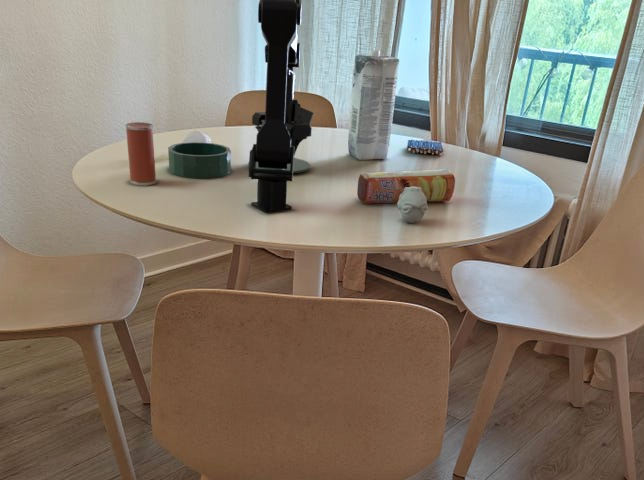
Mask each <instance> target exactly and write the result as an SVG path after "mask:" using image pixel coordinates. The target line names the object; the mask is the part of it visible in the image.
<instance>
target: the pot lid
mask: <svg viewBox="0 0 644 480" xmlns="http://www.w3.org/2000/svg"><path fill="white" fill-rule="evenodd" d="M256 169H272V168H259V167H258V162H256ZM310 169H311V164H310V162H308V161H307V160H304V159H302V158H301V159H300V158H297V157H294V163H293V174H298V173H299V174H300V173H303V172H307V171H309V170H310ZM272 170H289V171H290V164H288V167H287V169H272Z"/></svg>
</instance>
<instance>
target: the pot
mask: <svg viewBox="0 0 644 480" xmlns="http://www.w3.org/2000/svg"><path fill="white" fill-rule="evenodd" d="M167 153H168V171H169V173H170V174H172V175H174V176H177V177H181V178H186V179H198V180H199V179H200V180H201V179H202V180H206V179H217V178H222V177H225V176H228V175H229V174H230V173H231V171H232V150H231V149H230V147H229V146H226V145H223V144H219V143H213V142H211V143H204V142H189V143H182V142H179V143H175V144H171V145H170V146H167Z"/></svg>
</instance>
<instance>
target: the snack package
mask: <svg viewBox="0 0 644 480" xmlns="http://www.w3.org/2000/svg"><path fill="white" fill-rule="evenodd" d="M411 186H413V187H414V186H415V187H420V188H421V189H422V192H423V193H424V196H425V197H426V202H449V201H450V200H451V199H452V197H453V196H454V195H453V194H454V192H455V187H456V177H455V175H454V174H453V173H452V171H450V170H449V169H446V168H443V169H425V170H423V169H422V170H403V171H401V170H400V171H380V172H362V173H360V174H359V176H358V180H357V188H356V189H357V191H356V192H357V193H356V194H357V195H356V196H357V198H358V200H359V201H360V202H362V203H363V204H369V205H370V204H385V203H389V204H390V203H391V204H392V203H393V204H395V203H396V204H397V203H398V201H399V196H400V195H401V194H402V193H403V192H404V189H405V187H408V188H409V187H411Z"/></svg>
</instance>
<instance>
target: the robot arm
mask: <svg viewBox="0 0 644 480" xmlns="http://www.w3.org/2000/svg"><path fill="white" fill-rule="evenodd" d="M302 4H303V1H302V0H259V1H258V7H257V23H258V24H260V30H261V34H262V37H263V39H264V41H265V43H266V45H264V61H265V63H267V65H266V85H265V86H266V87H265V88H266V90H265V110H264V111H258V112H257V111H256V112H254V113H253V114H252V116H251V125H254V128H255V129H256V131H257V133H256V140H255V141H256V142H255V143H253V145H252V148H251V149H250V150H249V156H248V157H249V160H248V178H250V180H257V184H256V185H257V187H256V189H257V190H256V200H257V201H252V202H251V203H250V205H251V206H253V207H254V208H256V209H258V210H260V211H262V212H264V214H265V213H266V214H269V213H276V212H283V211H289V210H293V206H291V205H290V204H288V203H287V190H288V182H291V183H292V182H293V178H294V173H293V163H294V158H295V155H296V152H297V149H298V147H299V145H300V143H301V142H302V141H304V140H306V139H308V138H310V137H312V129H313V128H312V127H311V122H312V119H313V116H314V114H315V113H314V112H313V111H311V110H308V109H306V108H303V107H301V104H300V103H299V101H298V99H296V98H295V82H296V72H295V69H294V68H300V60H301V59H300V58H301V57H300V56H301V55H300V54H301V42H298V33H297V32H298V26H301V24H302V7H303V5H302ZM256 162H258V167H259V168H272V169H287V167H288V164H290V171H289V170H272V169H256Z"/></svg>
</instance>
